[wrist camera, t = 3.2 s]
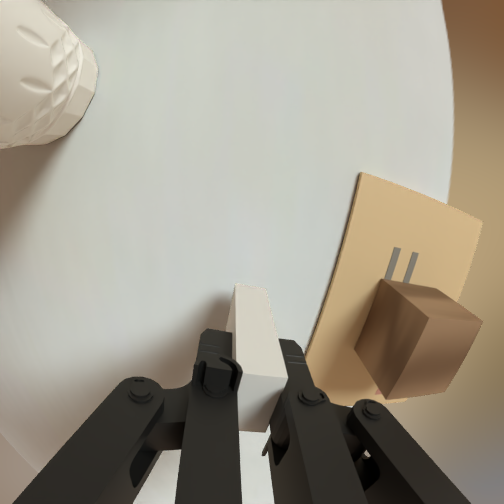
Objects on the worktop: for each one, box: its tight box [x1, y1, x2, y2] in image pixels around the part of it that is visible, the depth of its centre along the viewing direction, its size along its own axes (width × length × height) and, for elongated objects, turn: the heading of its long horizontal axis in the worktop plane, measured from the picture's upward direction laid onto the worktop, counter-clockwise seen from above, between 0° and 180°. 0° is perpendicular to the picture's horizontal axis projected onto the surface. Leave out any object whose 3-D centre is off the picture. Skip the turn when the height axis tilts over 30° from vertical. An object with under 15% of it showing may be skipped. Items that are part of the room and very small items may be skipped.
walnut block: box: [354, 278, 483, 400], centre depth 14 cm, size 5×5×5 cm
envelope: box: [305, 172, 483, 406], centre depth 17 cm, size 16×11×1 cm
